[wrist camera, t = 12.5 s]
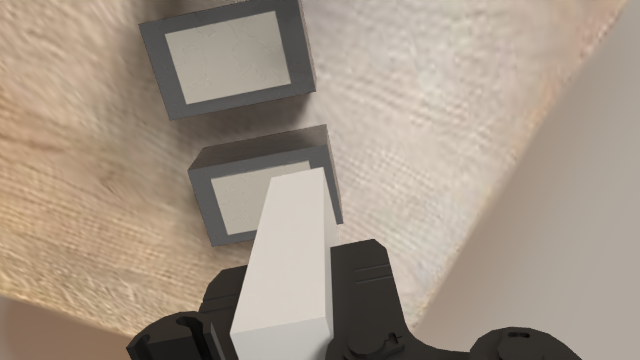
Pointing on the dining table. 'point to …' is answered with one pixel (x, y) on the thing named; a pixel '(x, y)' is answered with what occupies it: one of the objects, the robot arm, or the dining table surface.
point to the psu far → (255, 179)
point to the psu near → (230, 56)
